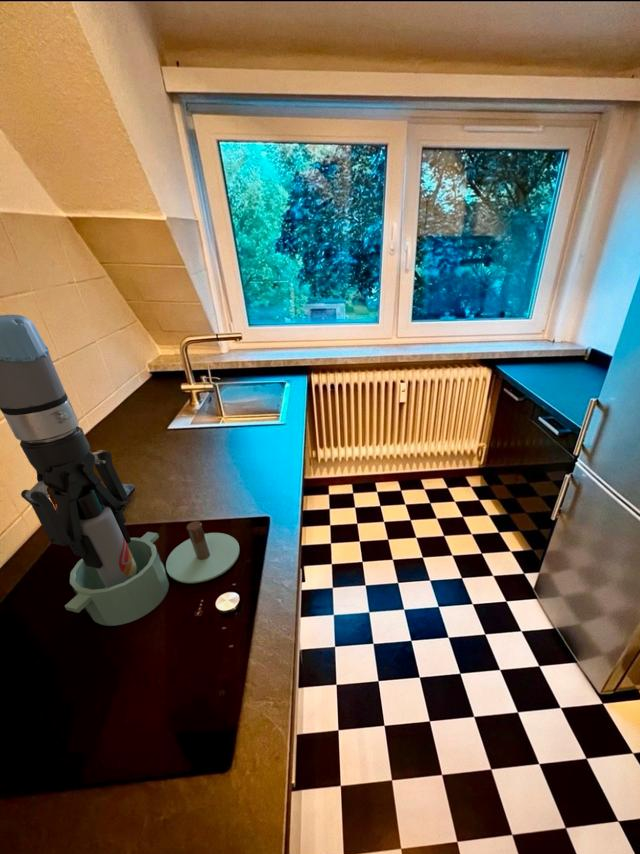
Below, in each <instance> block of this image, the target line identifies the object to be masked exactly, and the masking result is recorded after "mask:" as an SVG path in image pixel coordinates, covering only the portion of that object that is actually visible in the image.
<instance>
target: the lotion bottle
mask: <svg viewBox="0 0 640 854" xmlns="http://www.w3.org/2000/svg"><path fill="white" fill-rule="evenodd" d="M77 493H78V499H76V502H77V509H78V515H79V521H80V527H81V534H82V535H84V536H88V537H89V539H90V541H91V543H92V545H93V547H94V549H95V551H96V553H97V555H98V557H99V559H100V561H101V562H102V564H103V566H102V567H101V568H100V569H98V568H96V570H97V572H98V574H99V576H100V577H101V579H102V581H103V583H104V585H105V586H106V588H109V587H112V586H115V585H118V584H121V583H124V582H125V581H127V580H129V579H130V578H132V577H134V576H135V575H137V574H138V573H139V570H138V568H137V565H136V563H135V561H134V559H133V556H132V554H131V552H130V550H129V548H128V545H127V543H126V541H125V539H124V537H123V534H122V532H121V530H120V528H119V526H118V523H117V521H116V519H115V517H114V515H113V513H112V511H111V509H110V508H109V507H107V506H102V504H101V502H100V500H99V498H98V496H97V494H96V492H95V490H94V488H91V487H89V486H86V485H85V486H82V487H81V488H80V489H79V490H78V491H77Z"/></svg>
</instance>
